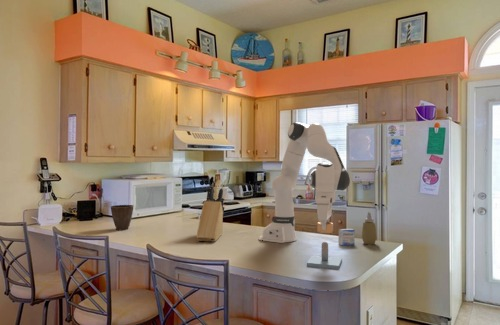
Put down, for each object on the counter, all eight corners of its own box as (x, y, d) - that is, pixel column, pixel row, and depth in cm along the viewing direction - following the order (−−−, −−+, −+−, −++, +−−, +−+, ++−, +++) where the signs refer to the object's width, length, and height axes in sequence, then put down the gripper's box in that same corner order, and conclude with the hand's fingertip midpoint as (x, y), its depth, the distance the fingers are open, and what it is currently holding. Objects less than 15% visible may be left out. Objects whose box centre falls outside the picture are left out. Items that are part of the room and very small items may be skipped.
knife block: (225, 231, 248) (225, 185, 248) (215, 243, 213) (215, 189, 213) (208, 231, 249) (209, 185, 249) (195, 242, 214) (195, 188, 214)
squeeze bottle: (373, 242, 216) (373, 211, 216) (378, 245, 208) (378, 213, 208) (359, 242, 216) (359, 211, 216) (364, 245, 208) (364, 213, 208)
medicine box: (342, 245, 207) (342, 230, 207) (338, 244, 211) (338, 228, 211) (354, 245, 209) (354, 229, 209) (350, 243, 214) (350, 228, 214)
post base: (306, 266, 167) (306, 243, 166) (312, 258, 180) (312, 237, 180) (338, 269, 162) (338, 246, 162) (341, 261, 175) (342, 239, 175)
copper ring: (316, 232, 169) (316, 223, 169) (318, 230, 175) (318, 221, 175) (331, 233, 166) (331, 224, 166) (333, 230, 173) (333, 222, 173)
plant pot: (105, 230, 250) (105, 206, 250) (119, 226, 264) (119, 204, 264) (124, 231, 246) (124, 207, 246) (137, 228, 260) (137, 205, 260)
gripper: (321, 195, 182) (321, 224, 182) (314, 200, 162) (314, 231, 162) (334, 196, 180) (334, 225, 180) (329, 200, 160) (329, 232, 160)
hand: (325, 228), depth 171 cm, fingers closed on copper ring, 7 cm apart
